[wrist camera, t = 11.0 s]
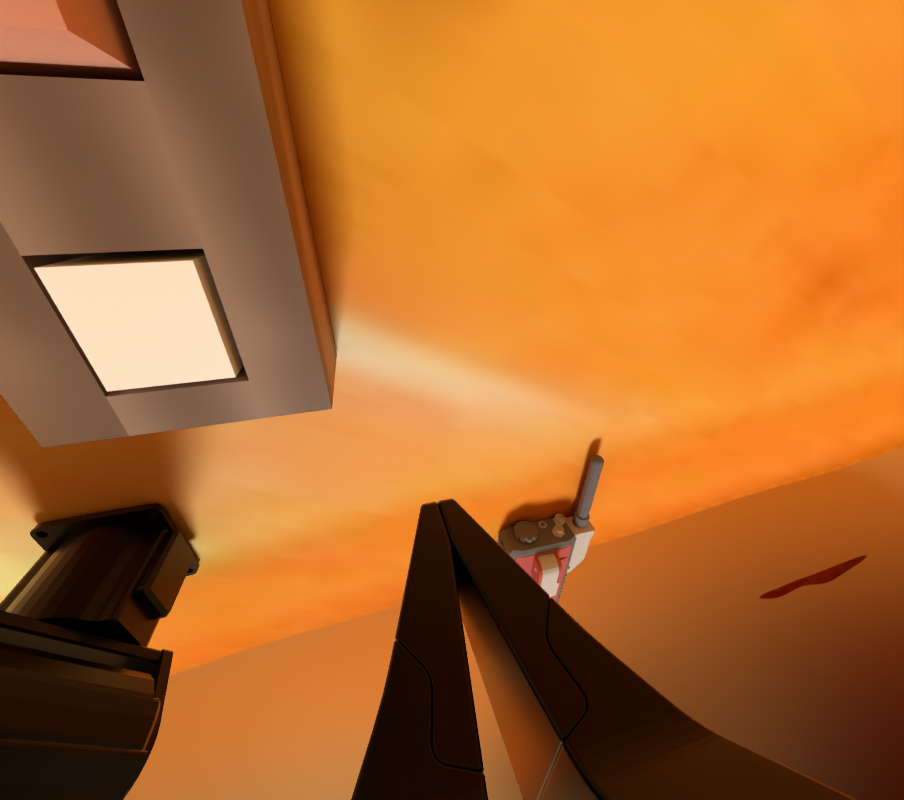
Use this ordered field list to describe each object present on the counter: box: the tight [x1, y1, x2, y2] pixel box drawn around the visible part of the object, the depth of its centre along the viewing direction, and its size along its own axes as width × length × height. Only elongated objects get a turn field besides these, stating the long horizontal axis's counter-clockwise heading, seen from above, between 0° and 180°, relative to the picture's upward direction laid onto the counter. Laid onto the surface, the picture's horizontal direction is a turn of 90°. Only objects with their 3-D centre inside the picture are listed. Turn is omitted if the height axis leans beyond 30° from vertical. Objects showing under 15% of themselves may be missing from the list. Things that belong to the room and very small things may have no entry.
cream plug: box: [34, 249, 243, 392], centre depth 14 cm, size 4×4×6 cm
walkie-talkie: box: [498, 455, 604, 603], centre depth 31 cm, size 9×4×20 cm
